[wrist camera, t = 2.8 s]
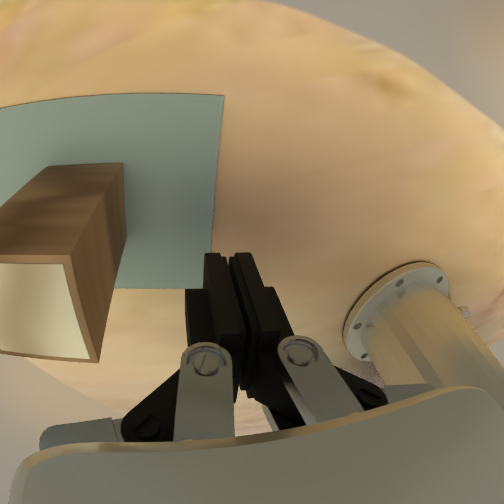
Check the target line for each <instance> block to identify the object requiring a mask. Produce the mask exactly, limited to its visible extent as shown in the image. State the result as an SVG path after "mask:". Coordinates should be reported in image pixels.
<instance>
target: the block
mask: <svg viewBox="0 0 504 504" xmlns="http://www.w3.org/2000/svg"><path fill="white" fill-rule="evenodd" d="M126 240H127V234H126V219H125V200H124V163H91V164H71V165H55V166H47V167H46V168H44V169H43V170H42V171H41V172H39V173H38V174H37V175H36V176H35V177H33V178H32V179H31V180H30V181H29V182H28V183H26V184H25V185H24V186H23V187H22V188H21V189H20V190H18V191H17V192H16V193H15V194H14V195H13V196H12V197H11V198H10V199H9V200H7V201H6V202H5V203H4V204H3V205H2V206H1V207H0V353H1V354H7V355H14V356H22V357H30V358H39V359H49V360H59V361H71V362H86V363H99V359H100V354H101V348H102V342H103V337H104V332H105V327H106V322H107V317H108V312H109V307H110V303H111V298H112V294H113V290H114V286H115V281H116V277H117V273H118V269H119V266H120V262H121V258H122V254H123V251H124V247H125V243H126Z"/></svg>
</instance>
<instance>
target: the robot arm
mask: <svg viewBox="0 0 504 504" xmlns="http://www.w3.org/2000/svg"><path fill="white" fill-rule="evenodd" d="M448 295H449V282H448V279H447V277H446V275H445V274H444V273H443V271H442V270H441V269H440V268H439V267H437V266H435V265H434V264H431V263H427V262H417V263H412V264H408V265H405V266H403V267H401V268H398V269H396V270H394V271H392V272H391V273H389V274H387V275H386V276H384V277H383V278H381V279H380V280H379V281H377V282H376V283H375V284H374V285H373V286H372V287H371V288H370V289H368V290H367V291H366V292H365V293H364V295H363V296H362V297H361V298H360V299H359V300H358V302H357V303H356V304H355V306H354V308H353V309H352V311H351V312H350V314H349V316H348V318H347V321H346V323H345V327H344V331H343V340H344V343H345V346H346V348H347V350H348V351H349V353H350V354H351V355H352V356H353V357H354V358H355V359H358V360H360V361H367V362H373V364H374V366H375V368H376V369H377V371H378V373H379V375H380V376H381V378H382V380H383V382H384V384H385V385H384V386H383V387H382V388H379V387H378V386H376V385H374V384H372V383H370V382H368V381H366V380H364V379H362V378H359V377H357V376H355V375H353V374H351V373H349V372H346V371H344V370H342V369H340V368H338V367H336V366H334V365H333V364H332V362H331V361H330V359H329V358H328V357H327V355H326V354H325V352H324V351H323V349H322V348H321V346H320V345H319V344H318V343H317V342H315V341H314V340H312V339H311V338H308V337H305V336H299V335H296V336H295V335H294V333H293V331H292V328H291V326H290V324H289V321H288V319H287V317H286V314H285V312H284V310H283V307H282V305H281V303H280V300H279V298H278V296H277V293H276V291H275V289H274V287H272V286H271V287H264V285H263V282H262V280H261V277H260V275H259V272H258V269H257V267H256V264H255V262H254V259H253V257H252V254H251V253H235V255H234V257H230V258H229V265H228V263H227V259H226V257H221V254H220V253H205V254H204V270H203V289H185V318H186V332H187V342H188V348H187V349H186V350H185V351H184V352H183V354H182V357H181V364H180V369H179V370H178V371H176V372H175V373H174V374H173V375H172V376H171V377H170V378H168V379H167V380H166V381H165V382H164V383H163V384H161V385H160V386H159V387H158V388H157V389H156V390H154V391H153V392H152V393H151V394H150V395H148V396H147V397H146V398H145V399H144V400H143V401H141V402H140V403H139V404H138V405H137V406H135V407H134V408H133V409H132V410H131V411H129V412H128V413H127V414H126V416H125V417H124V418H121V419H115V420H112V418H111V417H110V418H104V419H97V420H92V421H84V422H77V423H69V424H61V425H54V426H51V427H48V428H47V429H46V430H44V431H43V433H42V435H41V437H40V442H39V446H40V451H39V452H36V453H34V454H32V455H30V456H29V457H27V458H25V459H24V460H23V461H22V462H21V463H20V465H19V466H18V468H17V470H16V472H15V475H14V477H13V480H12V485H11V489H10V495H9V503H8V504H504V368H503V367H502V365H501V364H500V363H499V361H498V360H497V358H496V357H495V356H494V355H493V354H492V352H491V351H490V350H489V348H488V347H487V346H486V344H485V343H484V342H483V341H482V340H481V338H480V337H479V336H478V335H477V333H476V332H475V331H474V330H473V329H472V327H471V326H470V325H469V324H468V323H467V322H466V320H465V318H467V317H468V315H469V309H468V307H466V306H464V307H458V308H457V307H456V306H455V305H454V304H453V303H452V302H451V300H450V299H449V298H448ZM239 386H240V389H241V391H242V390H246V393H247V397H248V398H254V399H255V400H256V401H258V402H260V403H262V409H263V412H264V414H265V416H266V418H267V420H268V422H269V424H270V426H271V428H272V430H273V432H267V433H260V434H253V435H245V436H237V437H235V428H234V403H235V402H236V398H237V392H238V387H239Z"/></svg>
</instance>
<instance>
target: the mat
mask: <svg viewBox="0 0 504 504" xmlns="http://www.w3.org/2000/svg"><path fill="white" fill-rule="evenodd" d="M223 104H224V96H223V95H207V94H185V93H129V94H107V95H92V96H81V97H70V98H61V99H53V100H46V101H39V102H32V103H26V104H20V105H15V106H10V107H5V108H0V207H1V206H2V205H3V204H4V203H5V202H6V201H7V200H9V199H10V198H11V197H12V196H13V195H14V194H15V193H16V192H17V191H18V190H20V189H21V188H22V187H23V186H24V185H25V184H26V183H28V182H29V181H30V180H31V179H32V178H33V177H35V176H36V175H37V174H38V173H39V172H41V171H42V170H43V169H44V168H46V167H47V166H55V165H71V164H91V163H124V200H125V219H126V234H127V240H126V243H125V247H124V251H123V254H122V258H121V262H120V266H119V269H118V273H117V277H116V281H115V286H114V288H143V289H180V288H203V270H204V254H205V253H211V238H212V224H213V211H214V198H215V186H216V174H217V163H218V153H219V142H220V132H221V123H222V113H223Z"/></svg>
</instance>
